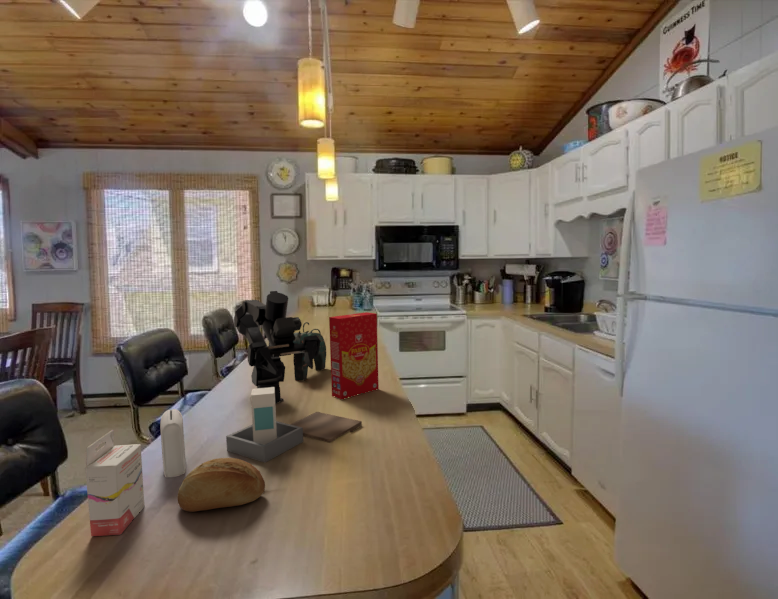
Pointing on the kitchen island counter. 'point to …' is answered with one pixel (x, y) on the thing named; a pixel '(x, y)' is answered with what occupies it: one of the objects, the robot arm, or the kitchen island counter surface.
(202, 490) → the bread roll
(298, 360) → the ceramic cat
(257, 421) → the carton
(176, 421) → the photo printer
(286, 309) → the robot arm
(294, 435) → the tub
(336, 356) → the food packaging
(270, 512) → the kitchen island counter surface
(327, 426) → the board
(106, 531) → the ink cartridge box
